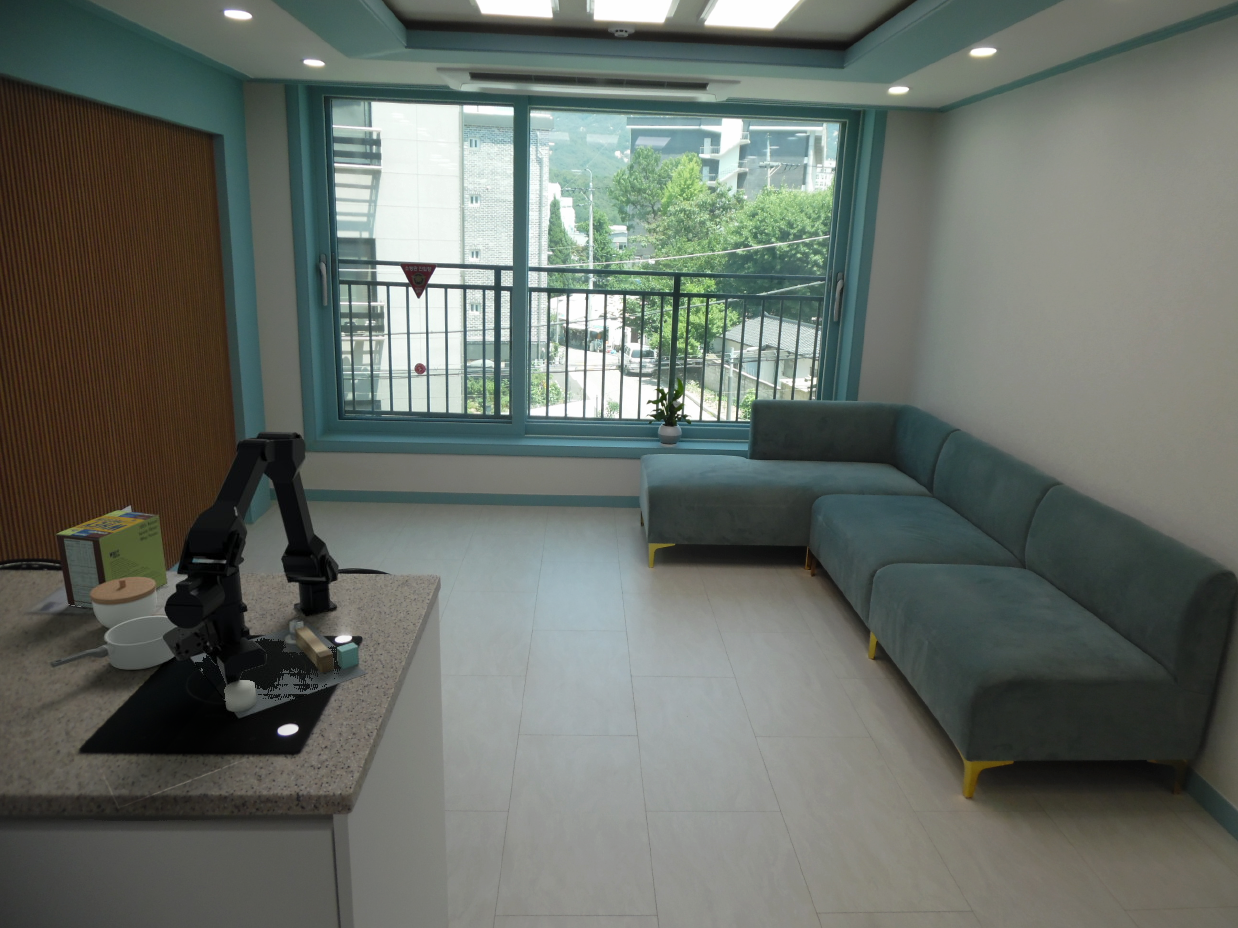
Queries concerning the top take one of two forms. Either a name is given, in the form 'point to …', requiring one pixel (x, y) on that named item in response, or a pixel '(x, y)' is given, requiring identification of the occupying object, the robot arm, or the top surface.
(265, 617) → the top surface
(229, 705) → the door stop
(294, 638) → the hinge pin
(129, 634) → the saucepan
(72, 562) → the protein box
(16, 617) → the top surface
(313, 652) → the wooden block
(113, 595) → the lidded jar
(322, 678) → the mat
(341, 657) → the teal rectangular block
